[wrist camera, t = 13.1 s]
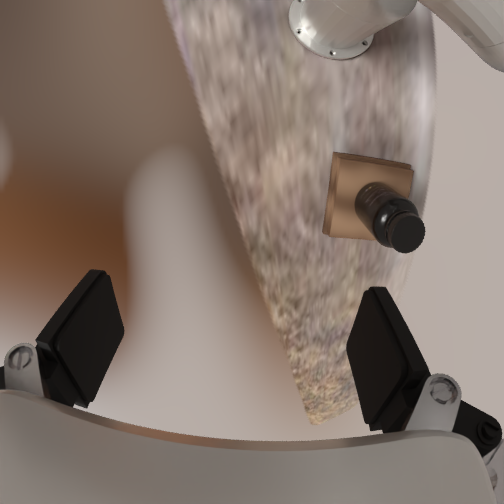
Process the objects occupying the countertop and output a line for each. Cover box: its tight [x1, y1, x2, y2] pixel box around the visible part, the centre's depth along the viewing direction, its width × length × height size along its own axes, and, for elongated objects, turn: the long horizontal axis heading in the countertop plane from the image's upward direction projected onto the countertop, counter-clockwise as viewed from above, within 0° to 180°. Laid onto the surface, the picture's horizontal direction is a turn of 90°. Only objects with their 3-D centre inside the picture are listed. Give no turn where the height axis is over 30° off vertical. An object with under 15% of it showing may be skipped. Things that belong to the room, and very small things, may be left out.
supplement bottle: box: [354, 182, 425, 253], centre depth 34 cm, size 7×7×12 cm
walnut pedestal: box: [322, 152, 414, 240], centre depth 41 cm, size 13×13×3 cm
